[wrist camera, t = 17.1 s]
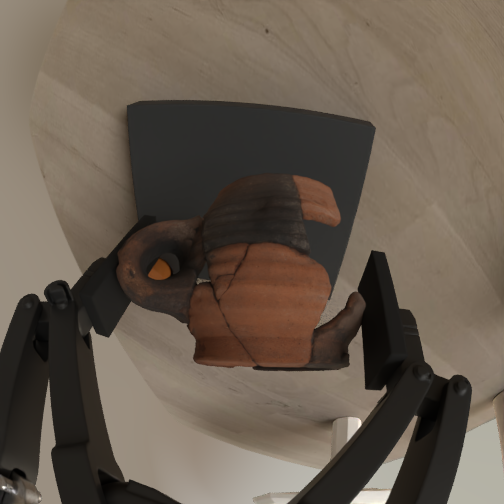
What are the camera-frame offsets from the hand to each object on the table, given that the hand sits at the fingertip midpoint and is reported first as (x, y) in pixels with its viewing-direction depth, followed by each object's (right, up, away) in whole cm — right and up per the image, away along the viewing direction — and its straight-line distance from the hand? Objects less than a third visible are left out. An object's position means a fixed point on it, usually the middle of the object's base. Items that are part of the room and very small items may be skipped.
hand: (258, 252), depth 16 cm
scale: (-1, +4, +7) cm, 8 cm away
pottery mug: (0, 0, 0) cm, 1 cm away
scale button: (-8, -1, +9) cm, 12 cm away
